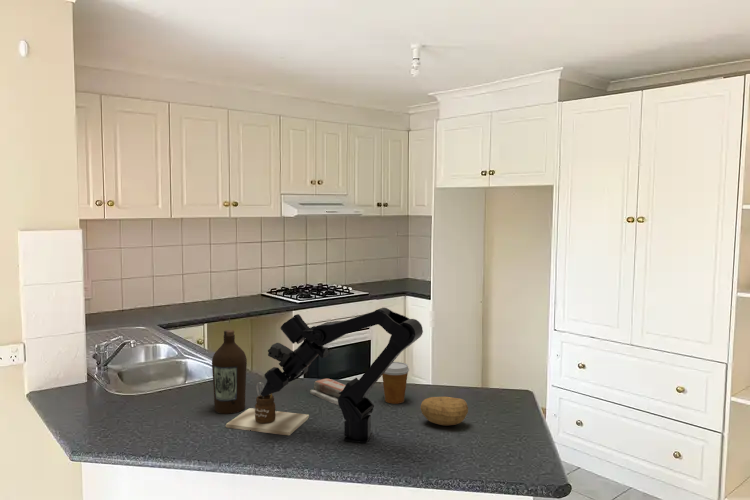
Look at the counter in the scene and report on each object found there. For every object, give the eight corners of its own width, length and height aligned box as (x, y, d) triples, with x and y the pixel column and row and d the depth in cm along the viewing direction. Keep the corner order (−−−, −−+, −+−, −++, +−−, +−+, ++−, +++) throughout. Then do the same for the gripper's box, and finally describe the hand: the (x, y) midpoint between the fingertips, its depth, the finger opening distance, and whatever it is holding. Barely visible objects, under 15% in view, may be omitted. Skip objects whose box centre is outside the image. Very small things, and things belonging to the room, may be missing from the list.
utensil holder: (263, 415, 170) (262, 376, 169) (280, 418, 167) (280, 379, 166) (250, 422, 165) (250, 381, 164) (268, 425, 162) (268, 384, 161)
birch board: (308, 418, 171) (308, 414, 171) (289, 435, 157) (289, 432, 157) (249, 411, 176) (249, 408, 176) (225, 427, 163) (225, 424, 163)
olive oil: (219, 402, 184) (218, 327, 182) (251, 403, 183) (250, 327, 182) (207, 414, 173) (206, 334, 172) (241, 415, 173) (240, 334, 171)
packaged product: (308, 380, 194) (331, 375, 200) (308, 394, 194) (331, 388, 201) (341, 393, 180) (365, 387, 187) (341, 408, 181) (364, 401, 187)
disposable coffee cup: (414, 402, 186) (415, 366, 185) (391, 407, 180) (391, 370, 180) (397, 394, 194) (397, 359, 193) (374, 399, 188) (374, 364, 187)
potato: (422, 416, 173) (423, 390, 172) (469, 420, 169) (469, 394, 169) (417, 428, 163) (417, 401, 163) (466, 433, 160) (466, 405, 159)
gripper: (298, 328, 171) (265, 361, 175) (270, 342, 153) (235, 378, 157) (322, 355, 170) (289, 388, 173) (297, 372, 152) (261, 409, 155)
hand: (269, 390), depth 165 cm, fingers open, 9 cm apart
